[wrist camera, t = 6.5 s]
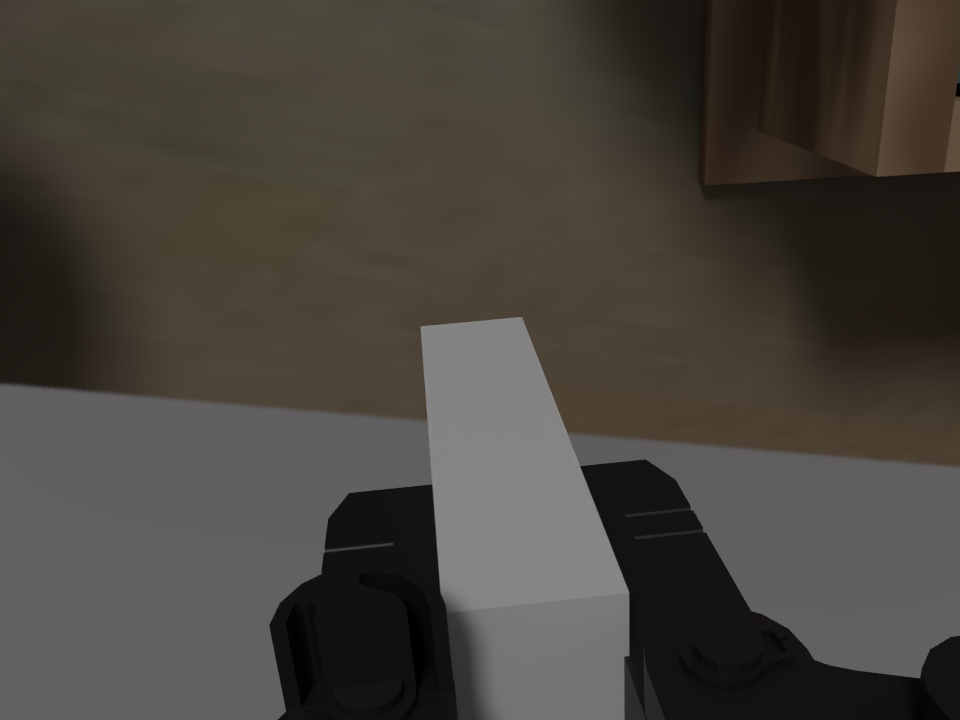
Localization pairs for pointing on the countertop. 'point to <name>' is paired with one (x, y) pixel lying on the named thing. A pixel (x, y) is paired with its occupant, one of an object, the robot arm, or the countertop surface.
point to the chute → (829, 89)
